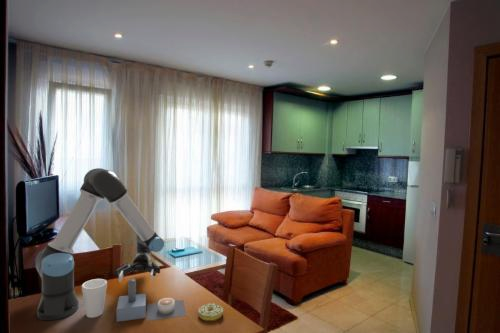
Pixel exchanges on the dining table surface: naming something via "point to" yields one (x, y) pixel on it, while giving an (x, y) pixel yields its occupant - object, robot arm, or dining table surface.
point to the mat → (155, 315)
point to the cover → (131, 304)
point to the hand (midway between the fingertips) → (135, 278)
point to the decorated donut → (210, 312)
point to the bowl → (166, 305)
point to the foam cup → (94, 296)
